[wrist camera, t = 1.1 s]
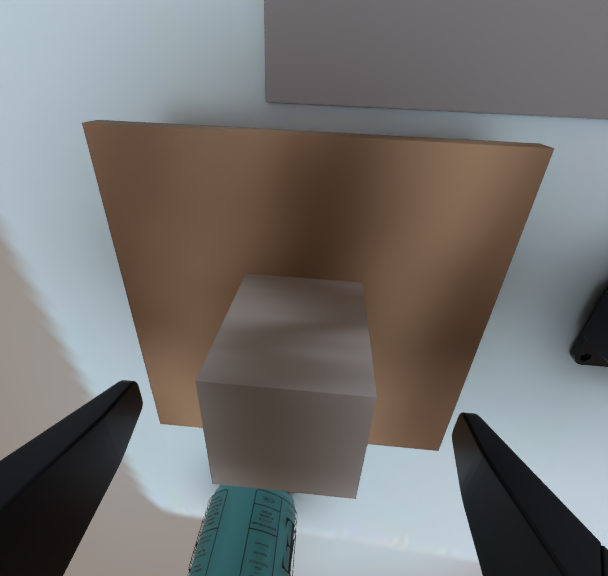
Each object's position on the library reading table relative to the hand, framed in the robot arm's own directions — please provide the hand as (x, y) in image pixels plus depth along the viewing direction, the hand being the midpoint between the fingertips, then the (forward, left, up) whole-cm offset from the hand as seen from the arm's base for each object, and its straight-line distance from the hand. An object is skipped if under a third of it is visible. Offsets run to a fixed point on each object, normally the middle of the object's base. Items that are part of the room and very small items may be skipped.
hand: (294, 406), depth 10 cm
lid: (0, 0, -5) cm, 5 cm away
